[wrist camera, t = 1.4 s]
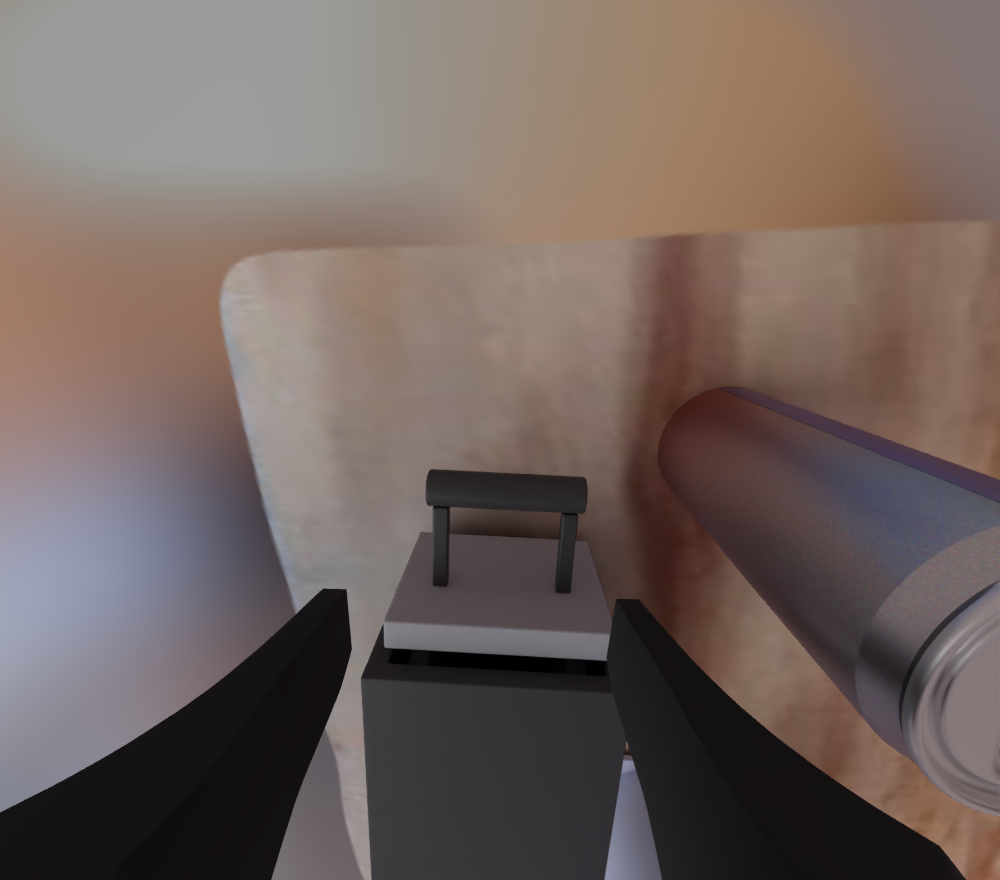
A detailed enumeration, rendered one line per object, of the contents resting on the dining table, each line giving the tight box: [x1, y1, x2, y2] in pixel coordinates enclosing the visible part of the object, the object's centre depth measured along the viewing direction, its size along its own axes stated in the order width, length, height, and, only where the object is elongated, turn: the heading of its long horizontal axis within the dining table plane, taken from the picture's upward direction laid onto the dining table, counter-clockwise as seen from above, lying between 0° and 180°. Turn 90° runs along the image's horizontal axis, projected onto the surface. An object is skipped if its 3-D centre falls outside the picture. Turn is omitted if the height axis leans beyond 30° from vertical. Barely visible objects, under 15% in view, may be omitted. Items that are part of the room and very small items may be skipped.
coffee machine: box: [361, 624, 626, 880], centre depth 22 cm, size 12×10×9 cm
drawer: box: [384, 469, 612, 675], centre depth 20 cm, size 15×8×7 cm, turn 178°
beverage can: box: [658, 387, 1000, 817], centre depth 15 cm, size 6×6×15 cm
